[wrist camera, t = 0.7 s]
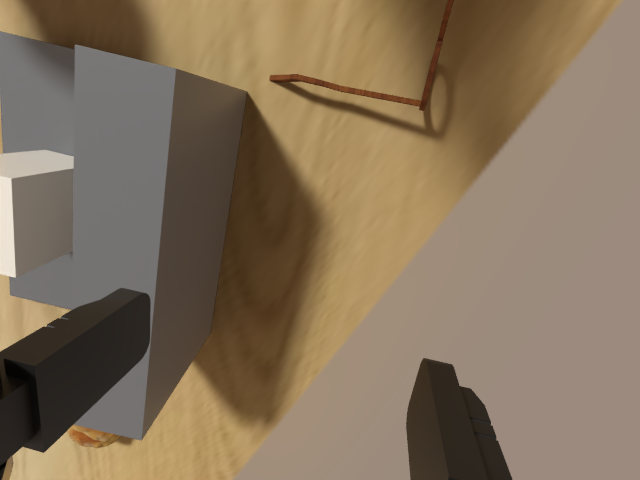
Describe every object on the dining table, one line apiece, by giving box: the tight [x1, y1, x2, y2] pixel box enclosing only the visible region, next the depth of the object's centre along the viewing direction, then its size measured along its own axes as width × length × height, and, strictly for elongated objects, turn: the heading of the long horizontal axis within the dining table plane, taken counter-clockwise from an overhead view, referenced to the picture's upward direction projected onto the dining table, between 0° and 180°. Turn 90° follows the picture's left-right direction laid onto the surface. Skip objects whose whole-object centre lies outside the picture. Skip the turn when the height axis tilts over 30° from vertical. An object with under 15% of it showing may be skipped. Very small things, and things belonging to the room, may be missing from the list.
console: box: [0, 31, 247, 441], centre depth 28 cm, size 24×20×14 cm
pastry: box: [67, 425, 120, 448], centre depth 40 cm, size 9×7×4 cm
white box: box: [0, 150, 74, 278], centre depth 28 cm, size 7×5×9 cm
